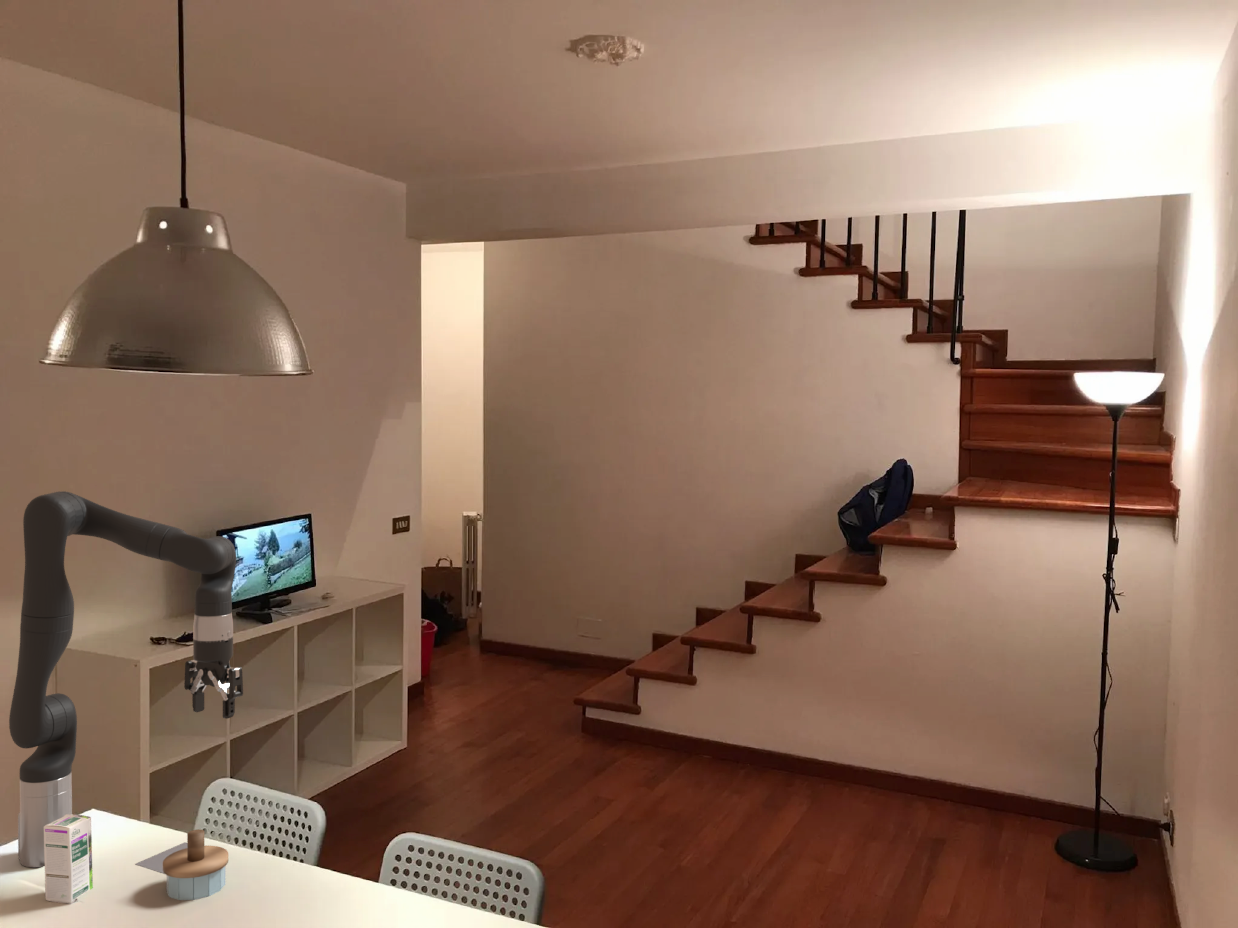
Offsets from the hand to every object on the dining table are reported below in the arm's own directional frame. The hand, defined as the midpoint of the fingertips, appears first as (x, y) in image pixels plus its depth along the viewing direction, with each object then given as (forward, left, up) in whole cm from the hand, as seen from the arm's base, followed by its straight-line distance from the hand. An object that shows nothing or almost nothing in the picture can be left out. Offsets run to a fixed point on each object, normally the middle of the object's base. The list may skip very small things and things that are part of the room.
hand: (213, 714), depth 204 cm
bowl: (+8, -11, -30) cm, 33 cm away
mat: (-5, -4, -30) cm, 31 cm away
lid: (+8, -11, -26) cm, 29 cm away
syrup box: (-11, -24, -30) cm, 40 cm away
